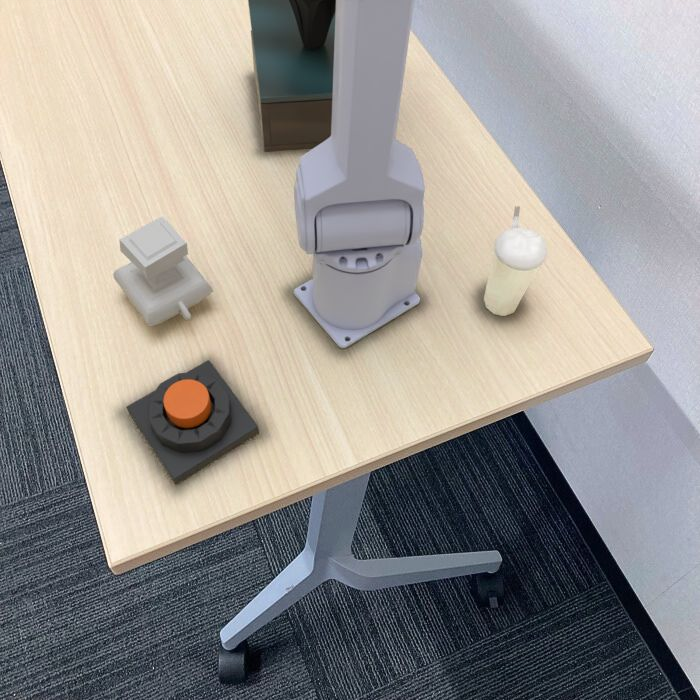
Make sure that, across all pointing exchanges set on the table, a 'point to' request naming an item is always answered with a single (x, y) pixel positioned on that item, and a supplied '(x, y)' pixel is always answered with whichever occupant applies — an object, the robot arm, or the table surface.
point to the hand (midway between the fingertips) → (314, 43)
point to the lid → (288, 55)
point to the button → (187, 403)
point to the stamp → (160, 273)
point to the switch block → (198, 442)
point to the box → (293, 121)
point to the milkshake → (513, 267)
